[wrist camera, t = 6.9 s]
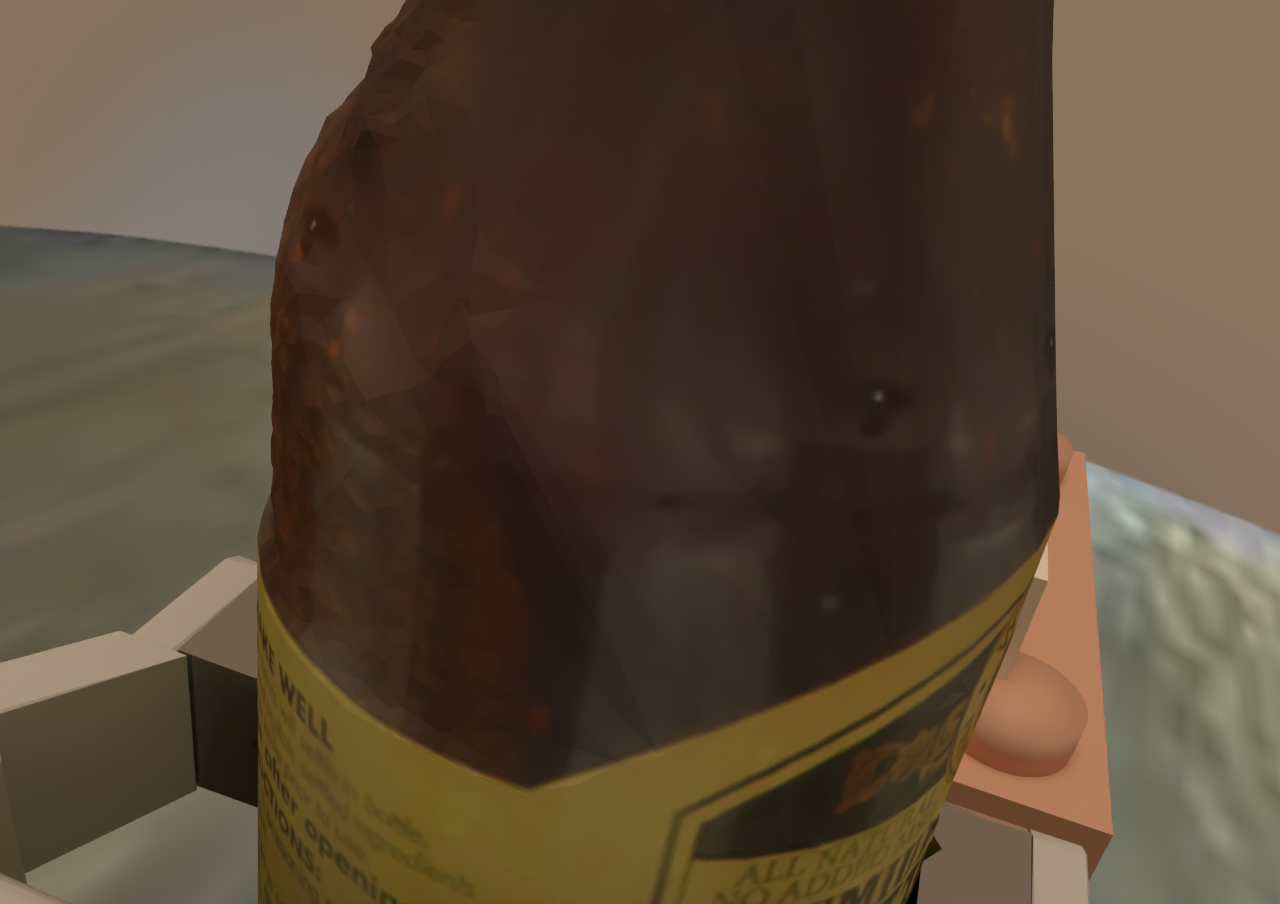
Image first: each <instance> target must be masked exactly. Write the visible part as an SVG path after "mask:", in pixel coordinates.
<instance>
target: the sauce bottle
mask: <svg viewBox="0 0 1280 904" xmlns="http://www.w3.org/2000/svg"><path fill="white" fill-rule="evenodd" d="M1053 8H1054V0H406V1H405V3H404V4H403V6H402V8H401V10H400V12H399V14H398V16H397V17H396V18H395V19H394V20H393V21H392V22H391V23H390V24H388V25H387V26H386V27H385V28H384V30H383V31H382V33H381V34H380V35H379V37H378V38H377V39H376V41H375V42H374V43H373V45H372V46H371V51H372V58H371V61H370V64H369V66H368V70H367V73H366V76H365V78H364V79H363V80H362V82H360V84H359V85H358V86H357V87H356V88H355V89H354V90H353V91H352V92H351V93H350V95H349V96H348V97H347V98H346V100H345V102H344V103H343V104H342V105H341V106H340V107H339V108H337V109H336V110H335V111H333V112H332V113H331V114H330V115H328V116H327V117H326V120H325V122H324V124H323V127H322V129H321V132H320V134H319V137H318V139H317V142H316V143H315V145H314V147H313V148H312V150H311V151H310V153H309V154H308V156H307V158H306V159H305V162H304V164H303V167H302V169H301V171H300V174H299V176H298V179H297V181H296V184H295V186H294V188H293V192H292V196H291V199H290V203H289V206H288V210H287V214H286V217H285V220H284V226H283V231H282V236H281V240H280V245H279V250H278V254H277V258H276V264H275V279H274V285H273V291H272V297H271V303H270V307H271V320H270V328H271V340H272V360H271V365H272V380H273V397H272V399H273V404H272V414H271V417H272V426H273V432H272V436H271V463H272V466H273V481H272V488H271V494H270V496H269V498H268V501H267V504H266V506H265V509H264V511H263V515H262V519H261V523H260V527H259V532H258V548H257V703H258V904H907V903H908V900H909V898H910V895H911V893H912V890H913V888H914V885H915V883H916V880H917V878H918V875H919V873H920V870H921V867H922V864H923V861H924V858H925V855H926V852H927V849H928V847H929V845H930V843H931V841H932V839H933V836H934V832H935V829H936V825H937V823H938V821H939V817H940V814H941V810H942V806H943V803H944V801H945V798H946V796H947V793H948V791H949V789H950V786H951V784H952V781H953V779H954V777H955V774H956V772H957V770H958V767H959V765H960V762H961V760H962V758H963V755H964V753H965V751H966V748H967V746H968V743H969V741H970V739H971V736H972V734H973V731H974V729H975V726H976V724H977V722H978V719H979V717H980V714H981V712H982V710H983V707H984V705H985V702H986V700H987V697H988V695H989V693H990V690H991V688H992V686H993V683H994V681H995V679H996V676H997V674H998V672H999V669H1000V667H1001V664H1002V662H1003V659H1004V657H1005V654H1006V652H1007V649H1008V647H1009V644H1010V641H1011V639H1012V636H1013V633H1014V630H1015V627H1016V624H1017V621H1018V618H1019V615H1020V612H1021V609H1022V606H1023V604H1024V601H1025V599H1026V596H1027V593H1028V591H1029V588H1030V586H1031V583H1032V581H1033V578H1034V575H1035V573H1036V570H1037V568H1038V565H1039V563H1040V560H1041V558H1042V555H1043V552H1044V550H1045V547H1046V545H1047V542H1048V540H1049V537H1050V535H1051V532H1052V529H1053V527H1054V524H1055V522H1056V519H1057V517H1058V514H1059V503H1060V481H1059V459H1058V438H1057V413H1056V412H1057V408H1056V356H1055V355H1056V352H1055V351H1056V350H1055V349H1056V348H1055V274H1054V273H1055V267H1054V183H1053V182H1054V181H1053V180H1054V179H1053V98H1052V97H1053V93H1052V92H1053V90H1052V42H1053V41H1052V40H1053Z"/></svg>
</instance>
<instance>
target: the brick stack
mask: <svg viewBox="0 0 1280 904" xmlns="http://www.w3.org/2000/svg"><path fill="white" fill-rule="evenodd" d="M1057 438H1058V459H1059V481H1060V503H1059V514H1058V517H1057V519H1056V522H1055V524H1054V527H1053V529H1052V532H1051V535H1050V537H1049V540H1048V542H1047V545H1046V547H1045V550H1044V552H1043V555H1042V558H1041V560H1040V563H1039V565H1038V568H1037V570H1036V573H1035V575H1034V578H1033V581H1032V583H1031V586H1030V588H1029V591H1028V593H1027V596H1026V599H1025V601H1024V604H1023V606H1022V609H1021V612H1020V615H1019V618H1018V621H1017V624H1016V627H1015V630H1014V633H1013V636H1012V639H1011V641H1010V644H1009V647H1008V649H1007V652H1006V654H1005V657H1004V659H1003V662H1002V664H1001V667H1000V669H999V672H998V674H997V676H996V679H995V681H994V683H993V686H992V688H991V690H990V693H989V695H988V697H987V700H986V702H985V705H984V707H983V710H982V712H981V714H980V717H979V719H978V722H977V724H976V726H975V729H974V731H973V734H972V736H971V739H970V741H969V743H968V746H967V748H966V751H965V753H964V755H963V758H962V760H961V762H960V765H959V767H958V770H957V772H956V774H955V777H954V779H953V781H952V784H951V786H950V789H949V791H948V793H947V796H946V798H945V801H946V802H949V803H952V804H955V805H958V806H961V807H964V808H967V809H970V810H973V811H976V812H979V813H982V814H984V815H987V816H990V817H993V818H996V819H999V820H1002V821H1005V822H1008V823H1011V824H1014V825H1017V826H1020V827H1023V828H1026V829H1027V830H1030V829H1031V830H1034V831H1037V832H1040V833H1043V834H1046V835H1049V836H1052V837H1055V838H1059V839H1062V840H1065V841H1068V842H1071V843H1074V844H1077V845H1080V846H1082V847H1083V849H1084V851H1085V853H1086V854H1087V862H1088V881H1089V880H1090V878H1091V876H1092V874H1093V872H1094V870H1095V868H1096V866H1097V864H1098V863H1099V861H1100V859H1101V857H1102V855H1103V853H1104V851H1105V849H1106V847H1107V846H1108V844H1109V842H1110V840H1111V838H1112V836H1113V829H1112V815H1111V801H1110V788H1109V774H1108V761H1107V747H1106V734H1105V720H1104V706H1103V693H1102V679H1101V666H1100V652H1099V638H1098V625H1097V611H1096V598H1095V584H1094V571H1093V557H1092V543H1091V530H1090V516H1089V503H1088V489H1087V476H1086V462H1085V453H1082V452H1078V451H1075V450H1074V449H1073V446H1072V444H1071V443H1070V442H1069V440H1068V439H1067V438H1066V437H1064V436H1063V435H1062V434H1060V433H1059V432H1057Z"/></svg>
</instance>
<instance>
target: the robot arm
mask: <svg viewBox="0 0 1280 904" xmlns="http://www.w3.org/2000/svg"><path fill="white" fill-rule="evenodd" d="M196 785H197V786H199V787H202V788H205V789H208V790H210V791H213V792H216V793H219V794H221V795H224V796H227V797H230V798H232V799H235V800H238V801H241V802H244V803H246V804H249V805H252V806H255V807H257V808H258V703H257V563H256V562H254V561H251V560H249V559H246V558H243V557H241V556H235V557H231V558H227V559H225V560H223V561H222V562H221V563H219V564H218V565H217V566H216V567H214V568H213V569H212V570H211V571H210V572H208V573H207V574H206V575H205V576H203V577H202V578H201V579H200V580H198V581H197V582H196V583H195V584H194V585H192V586H191V587H190V588H189V589H187V590H186V591H185V592H184V593H183V594H181V595H180V596H179V597H178V598H176V599H175V600H174V601H173V602H171V603H170V604H169V605H168V606H167V607H165V608H164V609H163V610H162V611H160V612H159V613H158V614H157V615H156V616H154V617H153V618H152V619H151V620H149V621H148V622H147V623H146V624H144V625H143V626H142V627H141V628H140V629H138V630H137V631H136V632H135V633H133V634H132V635H130V634H128V633H125V632H122V631H117V632H114V633H110V634H106V635H102V636H99V637H95V638H91V639H88V640H84V641H80V642H77V643H73V644H69V645H65V646H62V647H58V648H54V649H51V650H47V651H43V652H39V653H36V654H32V655H28V656H25V657H21V658H17V659H13V660H10V661H6V662H2V663H0V904H71V903H68V902H66V901H64V900H61V899H59V898H57V897H54V896H52V895H50V894H47V893H45V892H43V891H41V890H38V889H36V888H34V887H31V886H29V885H27V881H26V876H25V873H27V872H29V871H31V870H33V869H35V868H37V867H39V866H41V865H43V864H45V863H47V862H50V861H52V860H54V859H56V858H58V857H60V856H62V855H64V854H66V853H68V852H70V851H72V850H74V849H76V848H78V847H80V846H82V845H85V844H87V843H89V842H91V841H93V840H95V839H97V838H99V837H101V836H103V835H105V834H107V833H109V832H111V831H113V830H115V829H117V828H120V827H122V826H124V825H126V824H128V823H130V822H132V821H134V820H136V819H138V818H140V817H142V816H144V815H146V814H148V813H150V812H152V811H155V810H157V809H159V808H161V807H163V806H165V805H167V804H169V803H171V802H173V801H175V800H177V799H179V798H181V797H183V796H185V795H187V794H190V793H192V792H194V791H196V789H197V787H196ZM907 904H1090V900H1089V881H1088V862H1087V854H1086V853H1085V851H1084V849H1083V847H1082V846H1080V845H1077V844H1074V843H1071V842H1068V841H1065V840H1062V839H1059V838H1055V837H1052V836H1049V835H1046V834H1043V833H1040V832H1037V831H1034V830H1031V829H1030V830H1027V829H1026V828H1023V827H1020V826H1017V825H1014V824H1011V823H1008V822H1005V821H1002V820H999V819H996V818H993V817H990V816H987V815H984V814H982V813H979V812H976V811H973V810H970V809H967V808H964V807H961V806H958V805H955V804H952V803H949V802H946V801H944V803H943V806H942V810H941V814H940V817H939V821H938V823H937V825H936V829H935V832H934V836H933V839H932V841H931V843H930V845H929V847H928V849H927V852H926V855H925V858H924V861H923V864H922V867H921V870H920V873H919V875H918V878H917V880H916V883H915V885H914V888H913V890H912V893H911V895H910V898H909V900H908V903H907Z"/></svg>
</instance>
